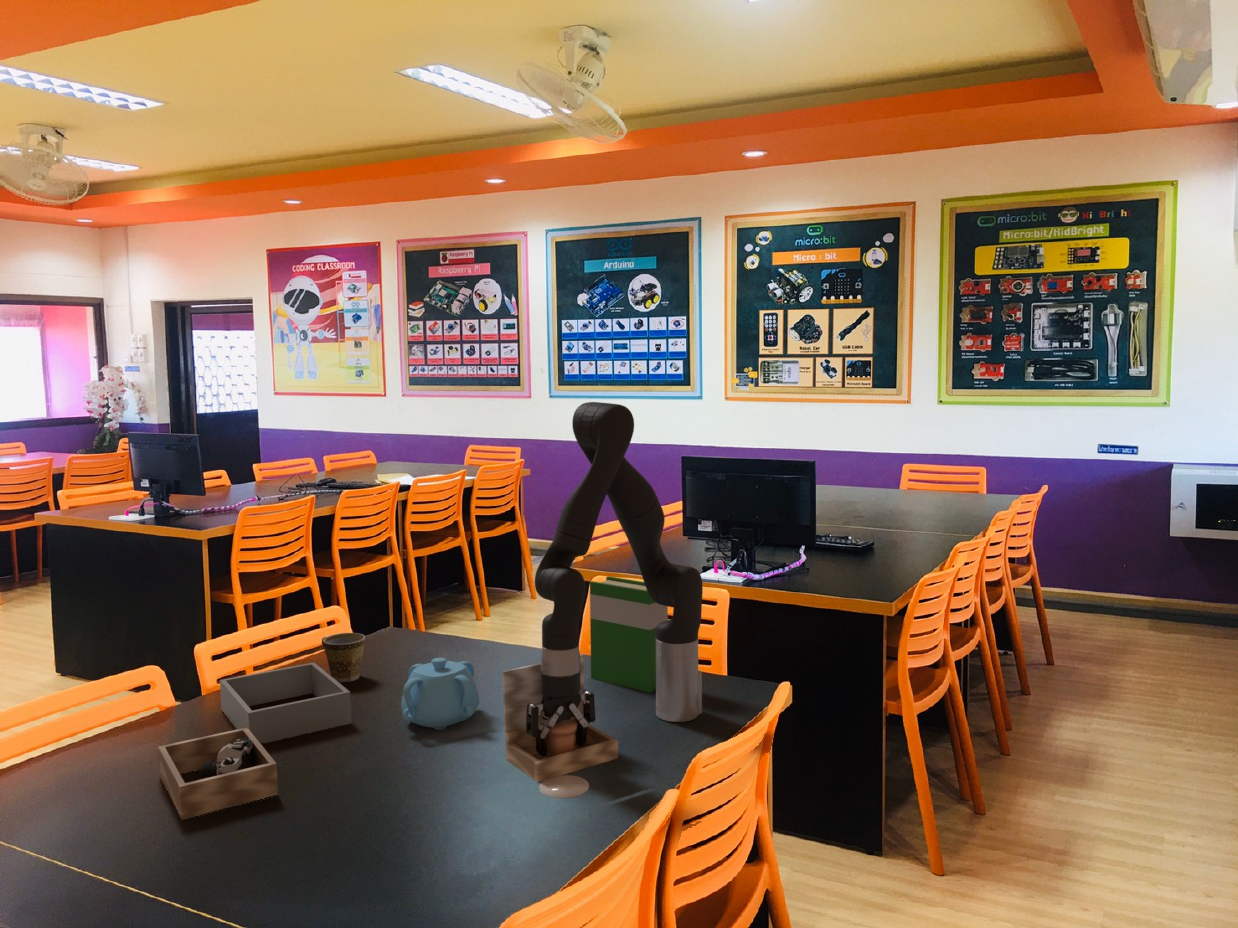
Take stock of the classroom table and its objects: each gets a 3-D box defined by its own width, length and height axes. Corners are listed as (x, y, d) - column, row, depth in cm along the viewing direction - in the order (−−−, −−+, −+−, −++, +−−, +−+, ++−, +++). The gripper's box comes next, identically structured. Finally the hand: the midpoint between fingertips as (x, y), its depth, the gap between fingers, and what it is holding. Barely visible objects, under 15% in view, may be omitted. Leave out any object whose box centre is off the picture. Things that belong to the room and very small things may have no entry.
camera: (215, 773, 181) (210, 729, 179) (258, 769, 182) (254, 726, 180) (195, 810, 168) (190, 763, 167) (241, 806, 169) (237, 759, 168)
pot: (567, 750, 189) (566, 716, 188) (583, 760, 184) (582, 725, 183) (541, 757, 185) (541, 722, 185) (557, 767, 181) (556, 732, 180)
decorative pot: (473, 734, 199) (471, 671, 197) (395, 735, 198) (393, 671, 197) (483, 706, 215) (481, 647, 213) (411, 707, 215) (409, 648, 213)
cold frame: (580, 738, 196) (579, 652, 194) (618, 760, 185) (617, 670, 183) (502, 759, 186) (500, 669, 184) (537, 784, 175) (535, 689, 173)
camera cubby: (248, 756, 188) (247, 727, 188) (278, 795, 171) (276, 763, 170) (159, 777, 179) (158, 746, 179) (181, 820, 162) (179, 786, 161)
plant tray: (315, 691, 226) (314, 662, 225) (351, 723, 205) (350, 691, 204) (221, 710, 214) (219, 680, 213) (250, 746, 193) (248, 713, 192)
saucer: (572, 774, 179) (572, 771, 179) (598, 791, 172) (598, 788, 171) (530, 786, 174) (530, 783, 174) (555, 805, 166) (555, 801, 166)
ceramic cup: (375, 675, 236) (373, 636, 235) (344, 687, 228) (342, 646, 227) (339, 667, 243) (337, 628, 242) (307, 678, 235) (305, 638, 234)
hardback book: (591, 678, 233) (589, 581, 230) (609, 670, 239) (608, 576, 236) (650, 692, 222) (649, 591, 220) (667, 683, 228) (667, 585, 226)
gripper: (581, 657, 190) (582, 735, 191) (518, 670, 182) (519, 752, 183) (602, 666, 183) (603, 747, 185) (538, 680, 175) (539, 765, 177)
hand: (561, 750), depth 184 cm, fingers open, 8 cm apart
